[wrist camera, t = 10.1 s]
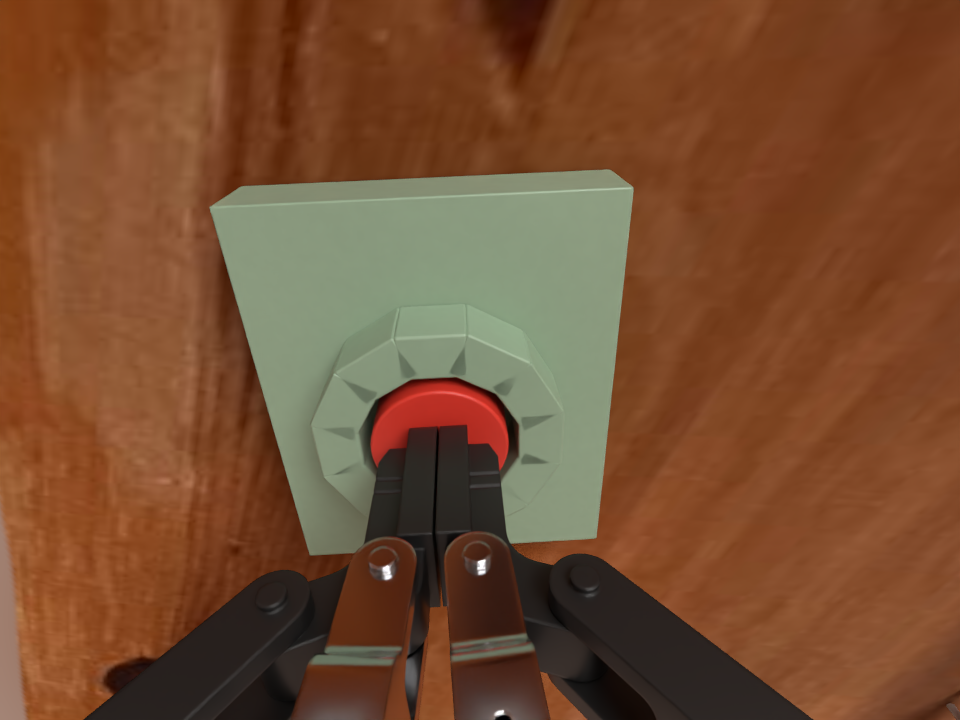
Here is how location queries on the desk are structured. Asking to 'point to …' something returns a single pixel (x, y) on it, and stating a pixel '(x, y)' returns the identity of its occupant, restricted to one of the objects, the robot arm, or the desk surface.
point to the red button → (439, 414)
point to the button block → (434, 328)
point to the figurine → (954, 710)
